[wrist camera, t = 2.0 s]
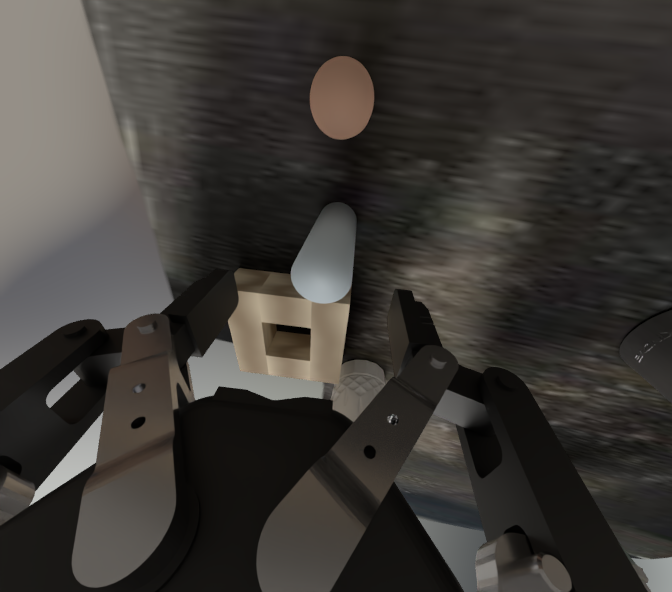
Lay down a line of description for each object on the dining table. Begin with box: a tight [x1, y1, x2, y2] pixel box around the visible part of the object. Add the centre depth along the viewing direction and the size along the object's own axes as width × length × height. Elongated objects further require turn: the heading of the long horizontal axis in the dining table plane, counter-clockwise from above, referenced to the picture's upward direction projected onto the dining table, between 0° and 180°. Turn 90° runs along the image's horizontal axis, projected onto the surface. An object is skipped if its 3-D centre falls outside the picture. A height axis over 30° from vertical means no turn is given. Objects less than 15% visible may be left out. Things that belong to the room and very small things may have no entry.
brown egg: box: [310, 56, 374, 140], centre depth 15 cm, size 3×3×5 cm
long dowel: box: [291, 202, 357, 304], centre depth 17 cm, size 3×3×10 cm
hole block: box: [228, 268, 352, 384], centre depth 27 cm, size 12×12×4 cm
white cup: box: [331, 360, 386, 422], centre depth 29 cm, size 8×8×10 cm
